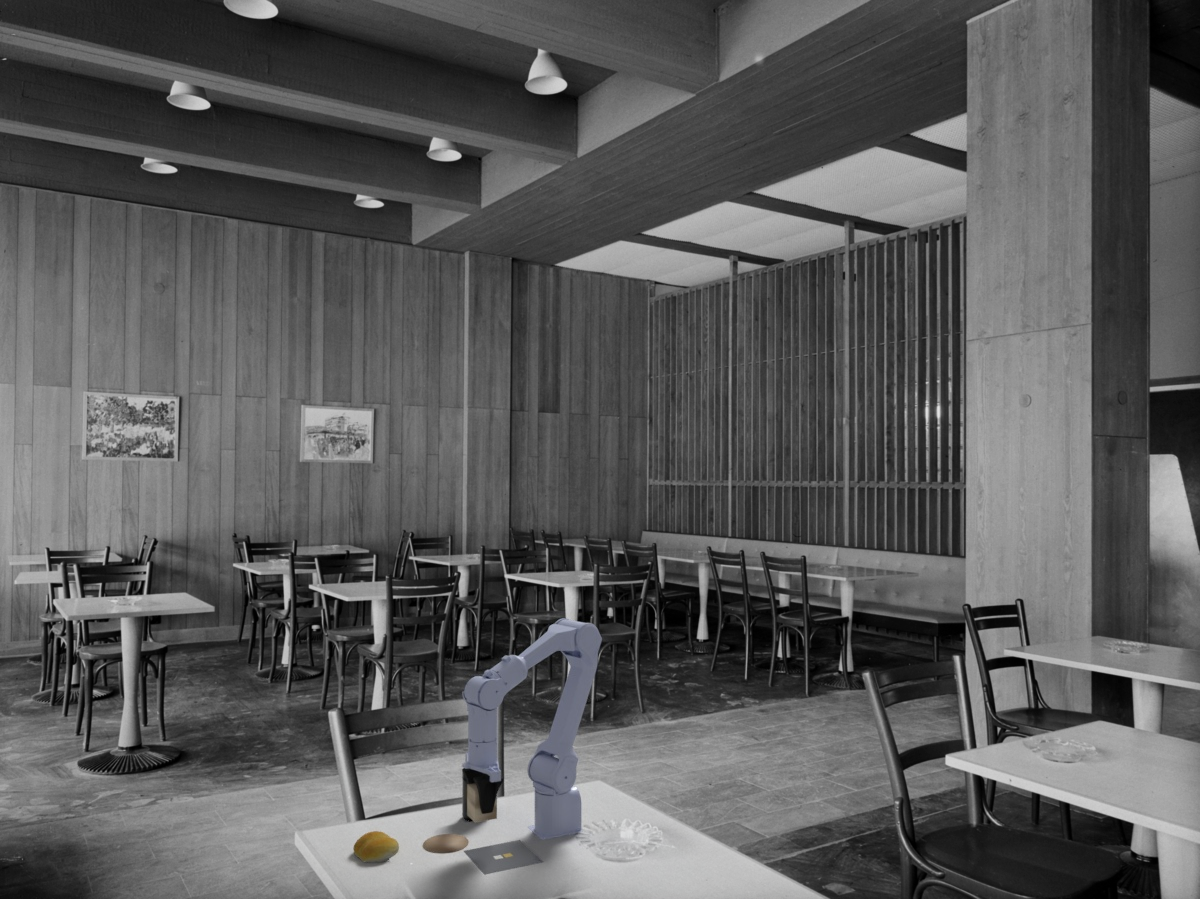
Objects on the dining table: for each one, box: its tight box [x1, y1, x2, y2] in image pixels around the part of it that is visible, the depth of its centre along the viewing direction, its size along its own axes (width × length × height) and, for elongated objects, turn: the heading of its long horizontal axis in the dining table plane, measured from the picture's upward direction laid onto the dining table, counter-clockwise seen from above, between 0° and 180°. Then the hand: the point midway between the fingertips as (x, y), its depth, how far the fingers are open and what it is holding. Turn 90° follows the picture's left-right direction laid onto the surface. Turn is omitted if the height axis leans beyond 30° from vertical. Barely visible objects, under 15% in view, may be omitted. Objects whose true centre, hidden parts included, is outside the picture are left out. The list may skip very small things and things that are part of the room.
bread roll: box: [352, 830, 400, 863], centre depth 180 cm, size 8×9×4 cm
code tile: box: [463, 839, 545, 875], centre depth 177 cm, size 12×12×1 cm
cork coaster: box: [422, 833, 470, 854], centre depth 184 cm, size 9×9×1 cm
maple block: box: [467, 783, 498, 823], centre depth 180 cm, size 4×4×6 cm
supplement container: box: [461, 771, 474, 823], centre depth 199 cm, size 7×7×10 cm
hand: (482, 808), depth 180 cm, fingers closed on maple block, 4 cm apart
